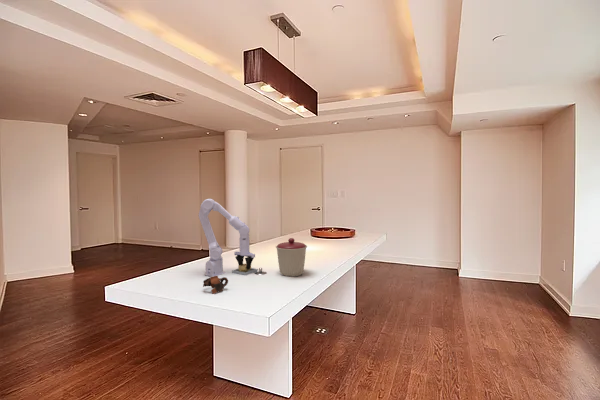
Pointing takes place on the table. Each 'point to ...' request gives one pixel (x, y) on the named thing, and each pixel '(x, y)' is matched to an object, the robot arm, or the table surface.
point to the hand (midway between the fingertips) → (244, 268)
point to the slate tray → (245, 272)
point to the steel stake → (260, 272)
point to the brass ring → (243, 268)
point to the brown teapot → (216, 283)
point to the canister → (291, 257)
